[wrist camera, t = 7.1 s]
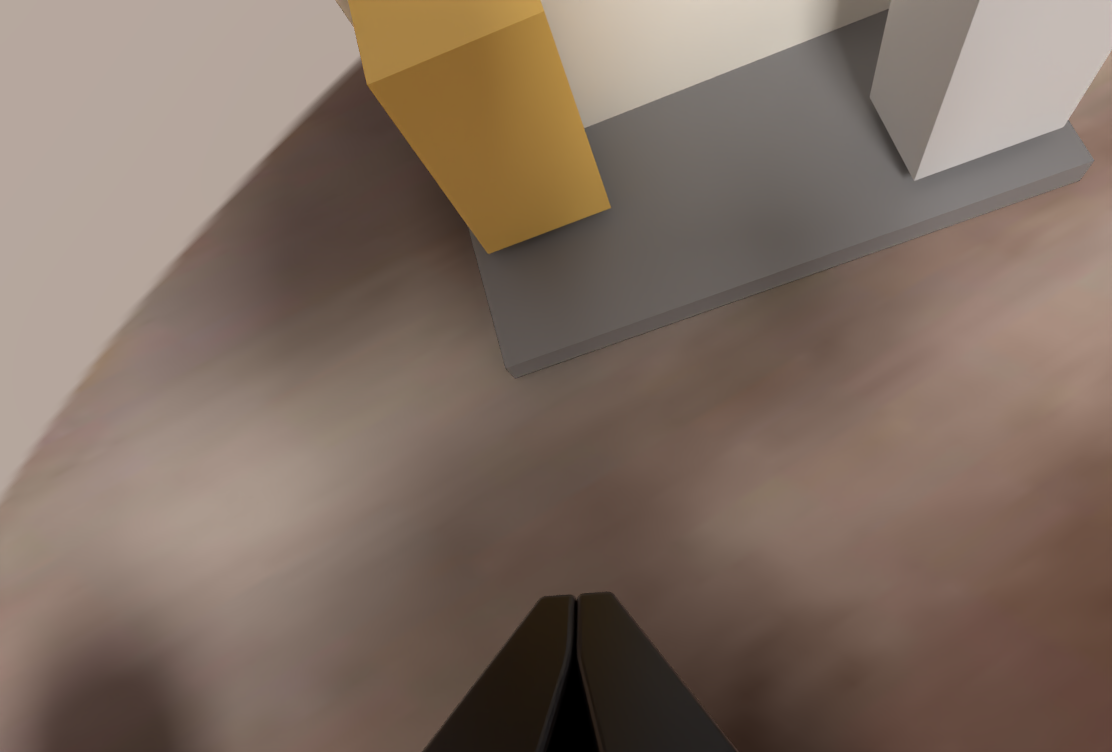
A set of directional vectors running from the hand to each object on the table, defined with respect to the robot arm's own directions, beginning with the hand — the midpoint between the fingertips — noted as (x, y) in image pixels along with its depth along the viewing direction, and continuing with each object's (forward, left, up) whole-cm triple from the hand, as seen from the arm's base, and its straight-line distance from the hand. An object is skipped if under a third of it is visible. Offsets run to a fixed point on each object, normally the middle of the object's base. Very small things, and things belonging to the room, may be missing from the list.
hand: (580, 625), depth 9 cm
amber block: (+13, -5, -11) cm, 17 cm away
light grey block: (+6, -15, -11) cm, 19 cm away
